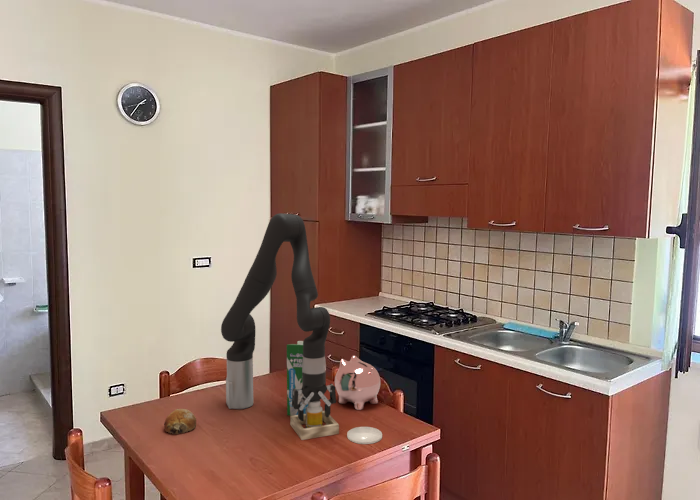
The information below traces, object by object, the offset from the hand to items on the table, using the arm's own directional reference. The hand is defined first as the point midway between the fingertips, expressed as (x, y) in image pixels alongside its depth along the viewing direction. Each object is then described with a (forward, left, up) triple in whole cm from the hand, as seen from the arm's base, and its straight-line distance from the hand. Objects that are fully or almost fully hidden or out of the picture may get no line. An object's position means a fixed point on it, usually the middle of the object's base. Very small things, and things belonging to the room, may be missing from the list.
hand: (314, 418), depth 179 cm
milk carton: (+1, +16, -4) cm, 16 cm away
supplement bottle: (0, 0, -4) cm, 4 cm away
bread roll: (-40, +17, -4) cm, 44 cm away
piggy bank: (+22, +17, -4) cm, 28 cm away
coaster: (+13, -11, -4) cm, 17 cm away
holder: (0, 0, -4) cm, 4 cm away
